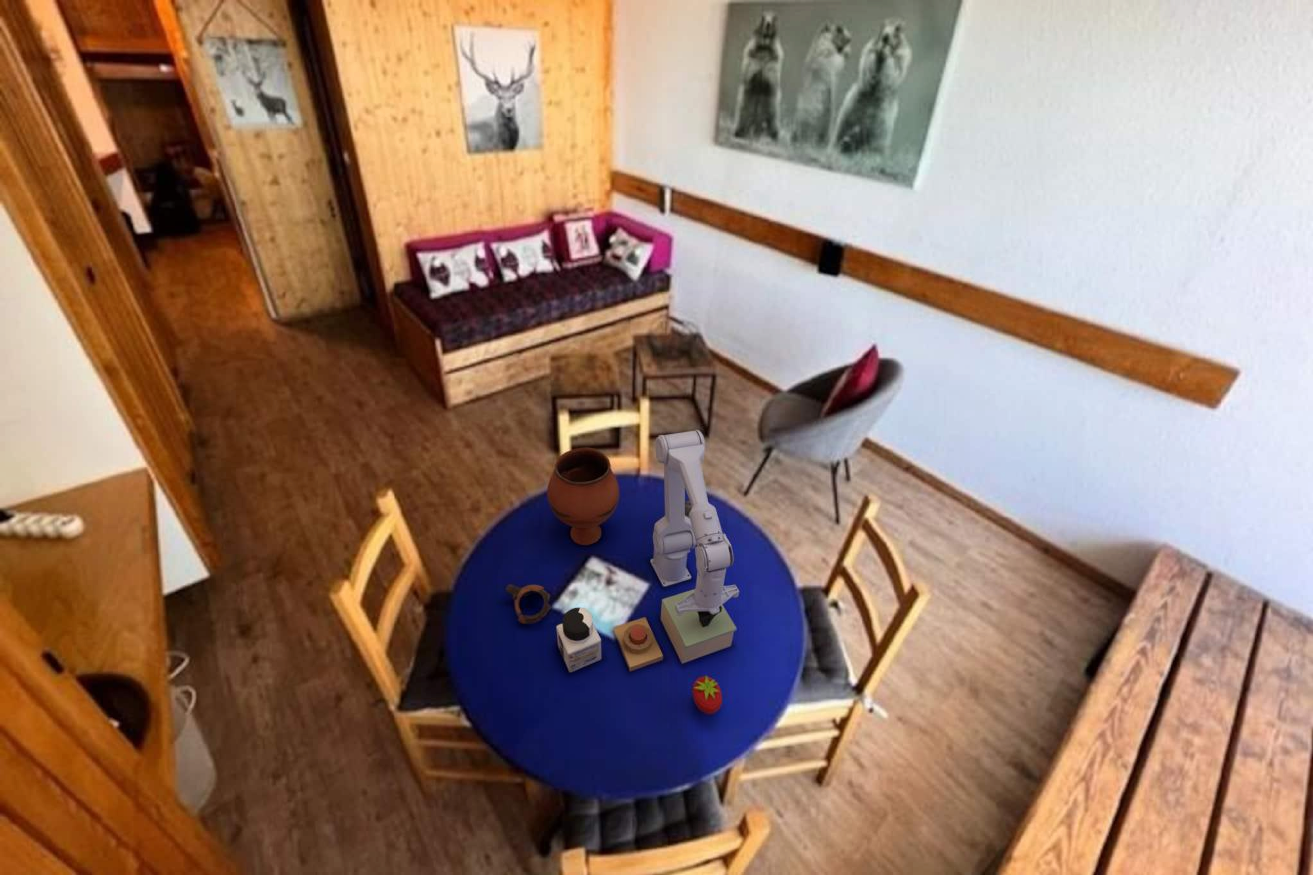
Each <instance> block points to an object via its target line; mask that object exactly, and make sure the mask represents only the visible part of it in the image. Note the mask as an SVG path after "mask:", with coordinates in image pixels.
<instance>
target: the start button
mask: <svg viewBox="0 0 1313 875" xmlns="http://www.w3.org/2000/svg"><path fill="white" fill-rule="evenodd" d="M645 639H646V631H645V629H644V628H643V627H640V626H636V627H634V628H632V629H631V631H630V640H631V641H632V642H633V643H634V644H642V643H643V642H644V641H645Z"/></svg>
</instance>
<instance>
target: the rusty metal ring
mask: <svg viewBox="0 0 1313 875" xmlns="http://www.w3.org/2000/svg"><path fill="white" fill-rule="evenodd" d="M544 589H545V587H544V586H542V585H539V584H528V585H525V586H523V587H520V586H517V585H513V584H512V583H511V584H508V585H507V586H506V588H505V592H506V593H507V594H509V595H510V596H511V597H512V600H513V601H514V609H515V613H516V615H517V616H518V619H517V621H518V622H519V623H521V624H522V625H531V624H536V623H537V622H540V621H542V619H543V618H545V617H546V616H547V614H548V612H549V611H550V610H551V609H552V606H551V605H550V604H549V601H550V598H551V594H550V593H549V592H547V591H546V590H544ZM533 593H537V594H539V595H540V596H541V597H542V599H543V606H542V608H541V610H540V611H539V612H537V613H535V614H534V615H528V614H523V613H522V609H521V608H520V601H521V598H522V597H527V596H528V595H530V594H533Z"/></svg>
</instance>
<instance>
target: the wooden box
mask: <svg viewBox="0 0 1313 875" xmlns="http://www.w3.org/2000/svg"><path fill="white" fill-rule="evenodd" d="M660 621H661V623H662V625H663V627H664V630H665V631H666V633H667V636H668V638H669V640H670V642H671V644H672V646H673V648H674V650H675V652H676V654H677V656H678V658H679V660H680V663H681V664H685V663H688V662H691V661H693V660H696V659H698V658H702V657H704V656H706V655H711V654H712V653H715V652H718V651H721V650H724V649H727V648H729V647H731V646H732V642H733V639H734V633H735V631H734V632H731V633H729V634H726V635H723V636H720V637H717V638H714V639H711V640H709V641H706V642H703V643H700V644H697V645H694V646H692V647H689V648H685V646H684V644H683V642H682V640H681V638H680V636H679V634H678V632H677V630H676V628H675V626H674V624H673V622H672V620H671V618H670V616H669V614H668V613H667V611H666V609H665V607H664V605H663V603H662V602H661V610H660Z"/></svg>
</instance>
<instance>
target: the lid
mask: <svg viewBox="0 0 1313 875" xmlns="http://www.w3.org/2000/svg"><path fill="white" fill-rule="evenodd" d="M695 589H696V588H694V589H691V590H687V591H684V592H680V593H677V594H675V595H671V596H668V597H665V598H662V599H661V604H662V603H663V605H664V607H665V609H666V611H667V613H668V614H669V616H670V618H671V620H672V622H673V624H674V626H675V628H676V630H677V632H678V634H679V636H680V638H681V640H682V642H683V644H684V646H685V648H689V647H692V646H694V645H697V644H700V643H703V642H706V641H709V640H711V639H714V638H717V637H720V636H723V635H726V634H729V633H731V632H734V633H735V632H737V629H738V628H737V626H736V625H735V623H734V622H733V621H734V620H732V618H731V617H730V615H729V613H728V611H727V610H726V608H725V607H724V604H722V605H721V607H722V611H721V612H720V613H718V614H717V615H716V616H715V617H714V618H713V619H712V621H711V622H710V624H709V625H708V626H706V627H702V625H701V623H700V621H699V615H698V612H697V611H685V612H683V615H681V616H678V614H677V613H676V610H675V604H676V603H678V602H680V601H682V600H683V599H685V598H686V597H687V596H689V595H690V594H691V593H693V592H694V591H695Z"/></svg>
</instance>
